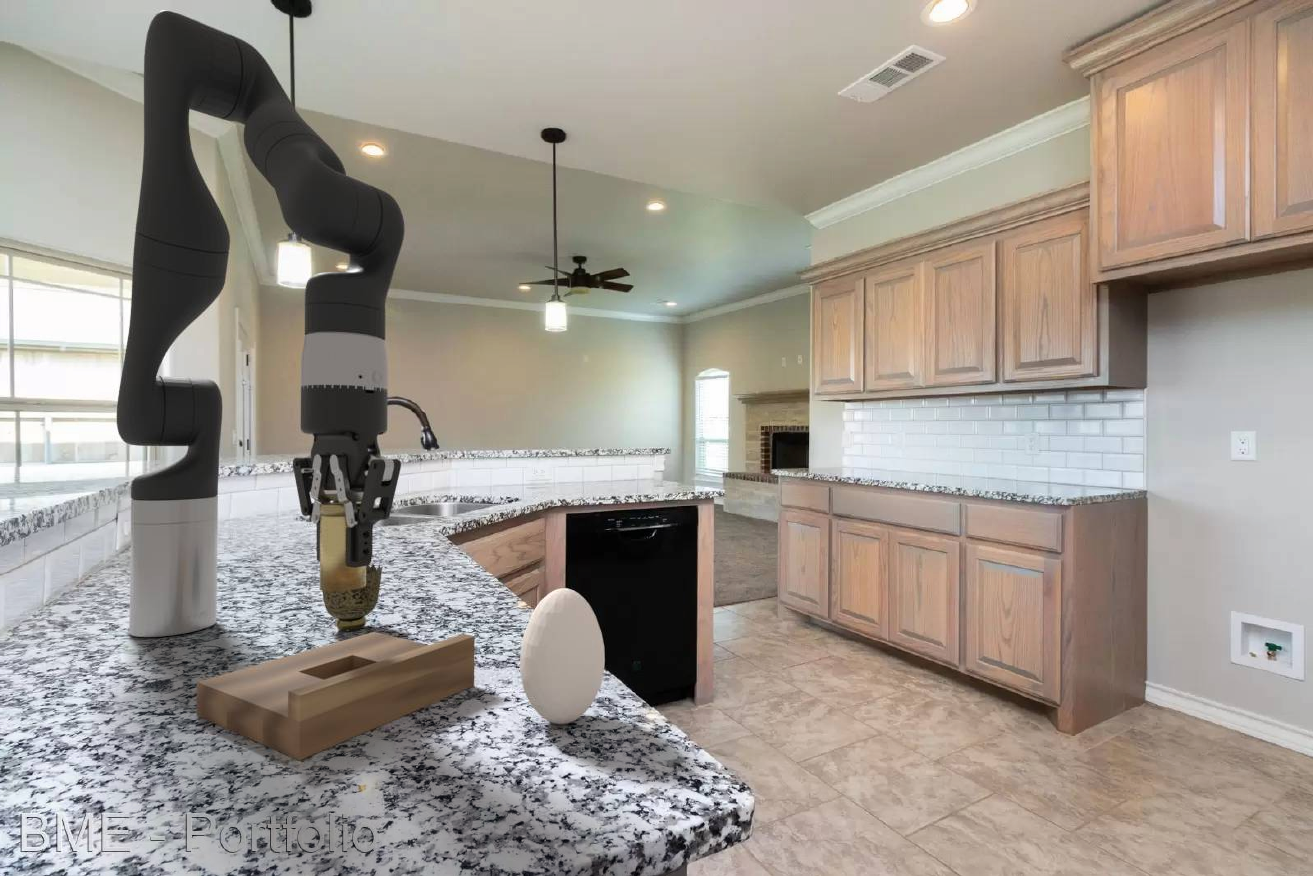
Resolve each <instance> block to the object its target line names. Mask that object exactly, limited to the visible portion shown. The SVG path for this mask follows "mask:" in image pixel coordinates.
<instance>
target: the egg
mask: <svg viewBox="0 0 1313 876" xmlns="http://www.w3.org/2000/svg"><path fill="white" fill-rule="evenodd" d="M521 642H522V643H521V648H520V655H519V656H520V658H519V659H520V660H519V661H520V662H519V668H520V679H521V683H522V688H523V690H524V694H525V695H526V698H527V699H528V701H529V703H530V705H531V706H532V708H533V709H534V710H535V711H536V713H537V714H538V716H540V717H542V718H543V719H544V720H545V721H548V722H550V723H552V724H557V725H566V724H569V723H572V722H574V721H577V720H578V719H579V718H581V717H582V716H583V715H584V714H585V713H586V712H587V711H588V710H589V708H590V707H591V706H592V704H593V703H594V701H595V699H596V697H597V695H598V693H599V691H600V688H601V686H602V682H603V677H604V674H605V673H604V672H605V661H606V659H605V644H604V639H603V634H602V631H601V628H600V624H599V622H598V619H597V616H596V614H595V612H594V610H593V608H592V606H591V605H590V603H589V602H588V601H587V600H586V599H585V598H584V597H583V596H582V595H581V594H580V593H579V592H577V591H575V590H573V589H570V588H567V587H565V588H557V589H554V590H552V591H550V592H549V593H548V594H547V595H546V596H544V598H542V599H541V600H540V601H539V603H538V604H537V605H536V607H535V609H534V610H533V612H532V614H531V616H530V618H529V620H528V623H527V626H526V628H525V631H524V633H523V636H522V641H521Z"/></svg>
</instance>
